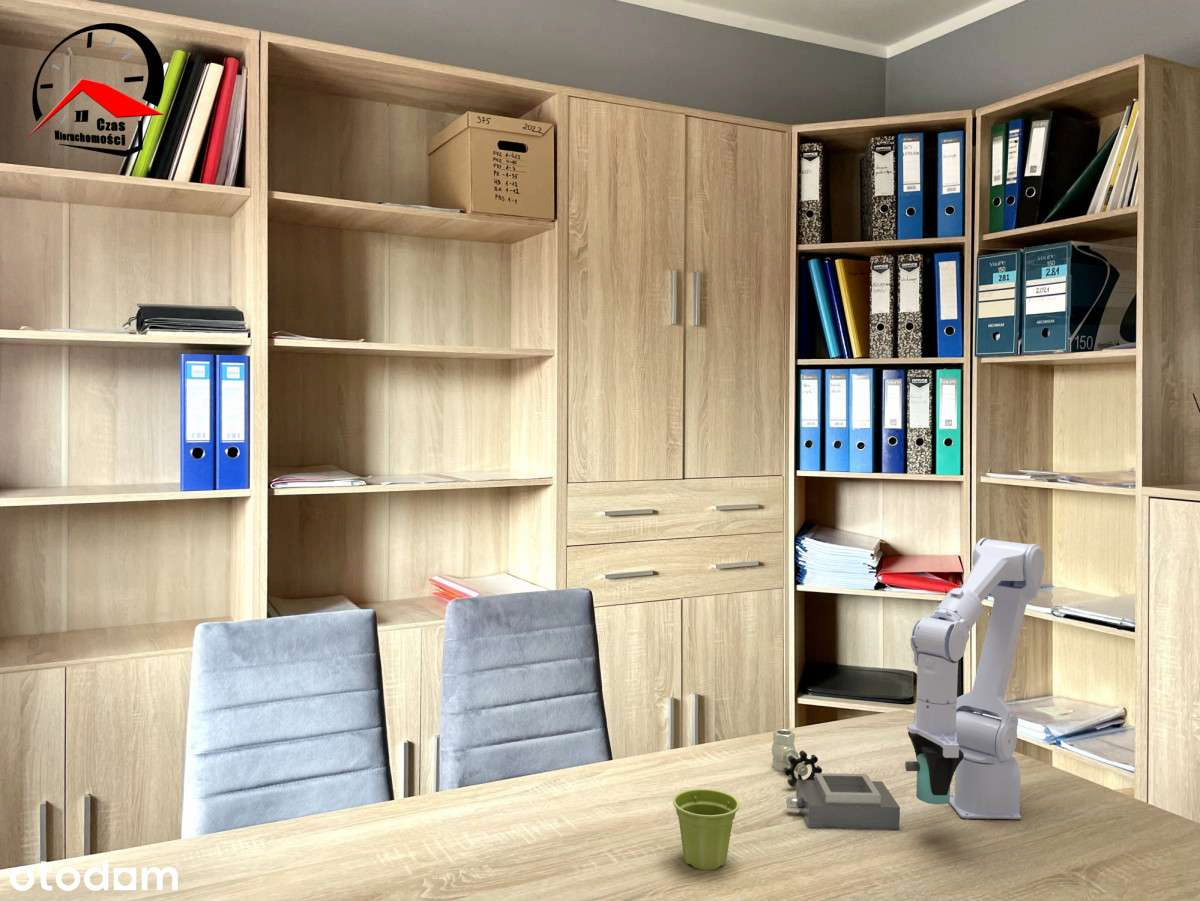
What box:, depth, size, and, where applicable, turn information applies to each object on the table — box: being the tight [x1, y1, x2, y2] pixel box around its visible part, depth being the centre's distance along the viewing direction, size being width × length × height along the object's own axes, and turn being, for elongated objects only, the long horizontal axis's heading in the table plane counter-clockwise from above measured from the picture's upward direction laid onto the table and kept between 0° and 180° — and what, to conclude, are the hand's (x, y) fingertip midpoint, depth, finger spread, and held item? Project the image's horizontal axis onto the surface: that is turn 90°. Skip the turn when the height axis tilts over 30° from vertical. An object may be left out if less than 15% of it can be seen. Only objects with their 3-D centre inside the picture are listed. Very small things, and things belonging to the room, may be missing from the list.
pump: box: [904, 753, 951, 805], centre depth 147 cm, size 6×5×6 cm
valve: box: [771, 728, 823, 788], centre depth 171 cm, size 7×7×12 cm
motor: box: [785, 772, 901, 830], centre depth 156 cm, size 16×10×5 cm, turn 89°
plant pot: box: [672, 788, 740, 871], centre depth 140 cm, size 9×9×9 cm
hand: (933, 786), depth 147 cm, fingers closed on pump, 5 cm apart
